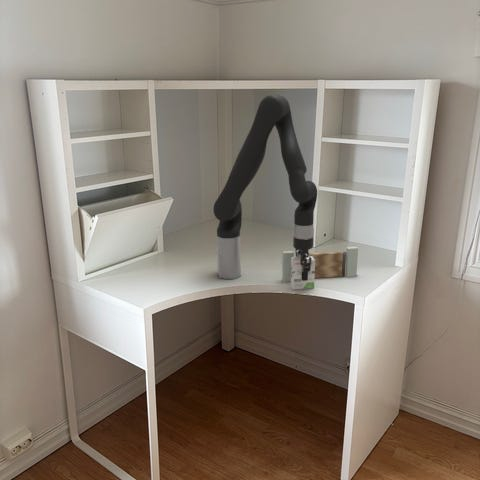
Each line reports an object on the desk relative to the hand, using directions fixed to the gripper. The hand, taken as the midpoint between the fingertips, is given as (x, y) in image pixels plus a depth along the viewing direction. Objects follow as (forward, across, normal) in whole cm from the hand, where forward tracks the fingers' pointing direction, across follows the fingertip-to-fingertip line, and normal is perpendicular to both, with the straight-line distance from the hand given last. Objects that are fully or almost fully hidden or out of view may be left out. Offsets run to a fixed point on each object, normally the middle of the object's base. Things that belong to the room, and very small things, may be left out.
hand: (302, 277), depth 188 cm
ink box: (+4, 0, 0) cm, 4 cm away
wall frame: (+4, -7, +9) cm, 12 cm away
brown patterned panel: (+4, -8, +10) cm, 13 cm away
